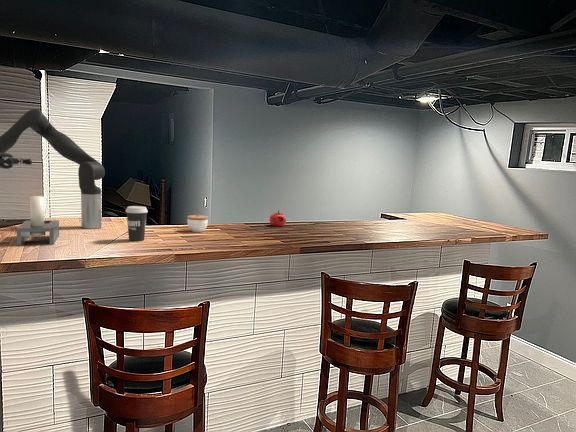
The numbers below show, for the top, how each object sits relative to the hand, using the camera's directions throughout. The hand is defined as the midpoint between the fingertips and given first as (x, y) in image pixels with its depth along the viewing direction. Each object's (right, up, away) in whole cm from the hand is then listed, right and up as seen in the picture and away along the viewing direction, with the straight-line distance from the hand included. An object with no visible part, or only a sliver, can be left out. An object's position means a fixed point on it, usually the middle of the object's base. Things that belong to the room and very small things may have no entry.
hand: (21, 162), depth 199 cm
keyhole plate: (+17, -35, -15) cm, 42 cm away
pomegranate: (+116, -31, +58) cm, 134 cm away
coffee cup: (+54, -36, -3) cm, 65 cm away
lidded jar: (+75, -33, +27) cm, 86 cm away
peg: (+18, -33, -18) cm, 41 cm away
